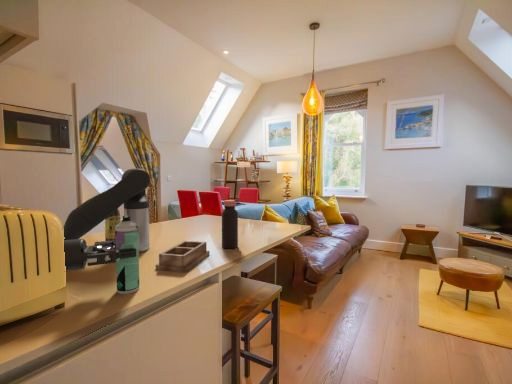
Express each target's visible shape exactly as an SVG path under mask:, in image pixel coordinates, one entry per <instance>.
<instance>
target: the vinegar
mask: <svg viewBox="0 0 512 384" xmlns="http://www.w3.org/2000/svg"><path fill="white" fill-rule="evenodd" d="M223 207H224V209H223V210H222V211H221V247H222V248H223V249H225V250H232V249H233V250H234V249H236V248H238V246H239V244H238V243H239V238H238V237H239V235H238V234H239V233H238V232H239V229H238V228H239V226H238V225H239V212H238V211H237V209H236V200H235V199H234V200H233V199H226V200H223Z"/></svg>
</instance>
